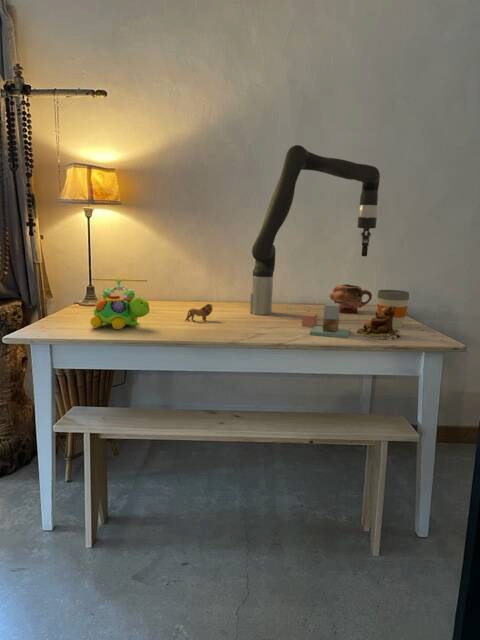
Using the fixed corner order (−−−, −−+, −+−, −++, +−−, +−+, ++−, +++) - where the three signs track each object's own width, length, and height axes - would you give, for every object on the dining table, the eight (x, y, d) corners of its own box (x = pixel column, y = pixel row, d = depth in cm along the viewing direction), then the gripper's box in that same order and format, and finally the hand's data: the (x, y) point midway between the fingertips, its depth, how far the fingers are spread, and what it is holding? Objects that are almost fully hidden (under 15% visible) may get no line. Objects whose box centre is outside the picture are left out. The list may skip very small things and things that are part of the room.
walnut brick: (322, 331, 183) (323, 318, 182) (325, 328, 190) (326, 315, 189) (336, 332, 182) (336, 319, 181) (338, 329, 188) (338, 316, 188)
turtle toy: (141, 331, 179) (140, 300, 177) (83, 327, 184) (82, 297, 181) (157, 323, 196) (156, 294, 194) (103, 320, 200) (102, 291, 198)
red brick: (301, 327, 197) (302, 315, 196) (304, 324, 203) (305, 312, 202) (313, 328, 195) (314, 316, 194) (316, 325, 202) (317, 313, 201)
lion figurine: (210, 319, 207) (211, 303, 206) (213, 321, 203) (214, 304, 202) (183, 320, 203) (183, 303, 201) (185, 322, 199) (186, 305, 197)
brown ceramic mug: (365, 312, 239) (367, 284, 236) (374, 316, 227) (376, 287, 224) (325, 311, 237) (327, 283, 234) (332, 316, 225) (334, 286, 222)
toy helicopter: (148, 308, 231) (148, 278, 228) (145, 311, 222) (145, 280, 219) (95, 307, 229) (94, 276, 226) (90, 310, 220) (89, 278, 218)
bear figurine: (370, 330, 195) (372, 300, 193) (405, 337, 185) (408, 305, 182) (352, 335, 185) (354, 303, 183) (388, 342, 175) (391, 308, 173)
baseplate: (309, 334, 182) (309, 331, 182) (314, 328, 194) (314, 325, 194) (347, 338, 178) (347, 334, 178) (350, 331, 190) (350, 328, 189)
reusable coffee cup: (390, 331, 194) (393, 294, 191) (368, 325, 205) (371, 290, 202) (412, 329, 200) (416, 293, 197) (390, 323, 211) (393, 289, 208)
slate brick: (323, 318, 182) (324, 305, 182) (326, 315, 189) (326, 302, 188) (336, 319, 181) (337, 306, 180) (338, 316, 188) (339, 303, 187)
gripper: (358, 217, 209) (355, 254, 212) (358, 215, 195) (354, 256, 198) (376, 217, 207) (373, 255, 210) (377, 216, 194) (373, 257, 197)
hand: (364, 255), depth 204 cm, fingers open, 8 cm apart
